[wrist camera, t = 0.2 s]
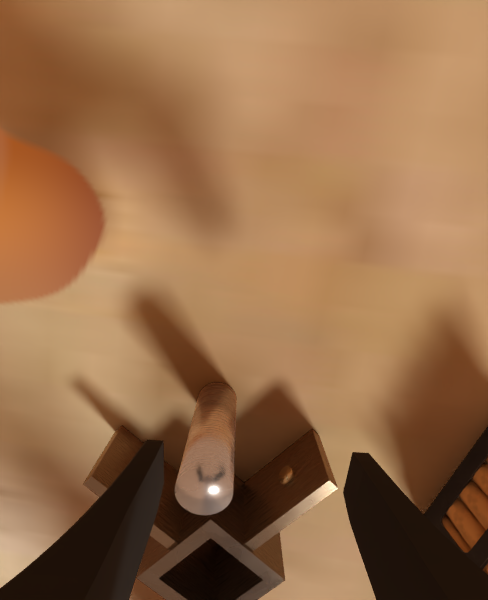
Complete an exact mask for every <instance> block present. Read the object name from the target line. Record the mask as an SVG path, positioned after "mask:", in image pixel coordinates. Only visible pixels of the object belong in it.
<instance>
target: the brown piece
mask: <svg viewBox="0 0 488 600" xmlns="http://www.w3.org/2000/svg"><path fill="white" fill-rule="evenodd" d="M142 445H143V442H141V441H140V440H139V439H138V438H137V437H135V436H134V435H133V434H132V433H131V432H129V431H128V430H127V429H126V428H125V427H123V426H121V427H120V428H119V429H118V430H117V431H116V432H115V433H114V434H113V436H112V438H111V439H110V441H109V443H108V444H107V446H106V447H105V449H104V451H103V452H102V454H101V456H100V457H99V459H98V460H97V462H96V464H95V465H94V467H93V469H92V470H91V472H90V473H89V475H88V477H87V478H86V480H85V482H84V483H83V484H84V485H85V486H86V487H87V488H89V489H90V490H91V491H93V492H94V493H95V494H97V495H98V496H99V497H101V495H102V494H103V493H104V492H105V491H106V490H107V489H108V488H109V486H110V485H111V484H112V483H113V482H114V480H115V479H116V478H117V477H118V476H119V475H120V473H121V472H122V471H123V470H124V468H125V467H126V466H127V465H128V463H129V462H130V461H131V460H132V458H133V457H134V456H135V454H136V453H137V452H138V450H139V449H140V448H141V446H142ZM178 473H179V472H177V471H176V470H175V469H174V468H173V467H171V466H170V465H169V464H168V463H167V462H165V461H164V484H163V489H162V493H161V498H160V502H159V506H158V511H157V514H156V517H155V521H154V524H153V527H152V530H151V533H150V536H149V539H148V542H147V545H146V548H145V551H144V555H143V558H142V561H141V565H140V568H139V571H138V575H137V579H138V580H140V581H141V582H142V583H144V584H145V585H147V586H148V587H149V588H151V589H152V590H153V591H155V592H156V593H158V594H159V595H160V596H162V597H163V598H164V599H166V600H258V599H259V598H261V597H262V596H263V595H265V594H266V593H268V592H269V591H271V590H272V589H273V588H275V587H276V586H278V585H279V584H280V583H282V582H283V581H285V575H284V567H283V558H282V550H281V541H280V533H279V532H280V531H281V530H282V529H284V528H285V527H286V526H288V525H289V524H290V523H292V522H293V521H295V520H296V519H297V518H299V517H300V516H301V515H303V514H304V513H305V512H307V511H308V510H309V509H311V508H312V507H313V506H315V505H316V504H317V503H319V502H320V501H321V500H323V499H324V498H326V497H327V496H328V495H330V494H331V493H332V492H334V491H335V490H336V489H338V487H337V484H336V482H335V479H334V476H333V473H332V470H331V468H330V465H329V462H328V459H327V456H326V454H325V451H324V448H323V445H322V442H321V440H320V437H319V435H318V434H317V433H316V432H315V431H314V430H313V429H311V430H310V431H309V432H308V433H306V434H305V435H304V436H303V437H301V438H300V439H299V440H298V441H296V442H295V443H294V444H293V445H291V446H290V447H289V448H288V449H286V450H285V451H284V452H282V453H281V454H280V455H279V456H277V457H276V458H275V459H274V460H272V461H271V462H270V463H269V464H267V465H266V466H265V467H264V468H262V469H261V470H260V471H259V472H257V473H256V474H255V475H254V476H252V477H251V478H250V479H249V480H247V481H246V482H245V483H244V482H243V481H242V480H240V479H239V478H238V477H237V476H236V475H235V474H234V482H233V497H232V500H231V502H230V503H229V505H228V506H227V507H226V508H225V509H223V510H222V511H220V512H218V513H216V514H212V515H198V514H194V513H191V512H189V511H187V510H186V509H184V508H183V507H182V506H181V505H180V504H179V502H178V501H177V499H176V496H175V485H176V481H177V477H178ZM212 539H213V540H214V541H213V540H212Z"/></svg>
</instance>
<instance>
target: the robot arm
mask: <svg viewBox="0 0 488 600" xmlns="http://www.w3.org/2000/svg"><path fill="white" fill-rule="evenodd" d="M163 484H164V445H163V441H158V440H146V441H145V442H144V443H143V445H142V446H141V448H140V449H139V450H138V452H137V453H136V454H135V456H134V457H133V458H132V460H131V461H130V462H129V463H128V465H127V466H126V467H125V468H124V470H123V471H122V472H121V473H120V475H119V476H118V477H117V478H116V479H115V480H114V482H113V483H112V484H111V485H110V486H109V488H108V489H107V490H106V491H105V492H104V493H103V494H102V495H101V497H100V498H99V499H98V500H97V501H96V502H95V503H94V504H93V505H92V506H91V507H90V508H89V510H88V511H87V512H86V513H85V514H84V515H83V516H82V517H81V518H80V519H79V520H78V521H77V522H76V523H75V524H74V525H73V526H72V527H71V528H70V529H69V530H68V531H67V532H66V533H65V534H63V535H62V536H61V537H60V538H59V539H58V540H57V541H56V542H55V543H54V544H53V545H52V546H50V547H49V548H48V549H47V550H46V551H45V552H44V553H43V554H41V555H40V556H39V557H38V558H37V559H36V560H35V561H33V562H32V563H31V564H30V565H29V566H28V567H26V568H25V569H24V570H23V571H22V572H20V573H19V574H18V575H17V576H15V577H14V578H13V579H12V580H10V581H9V582H8V583H6V584H5V585H4V586H3V587H1V588H0V600H129V598H130V594H131V591H132V588H133V584H134V581H135V578H136V575H137V572H138V569H139V566H140V563H141V560H142V557H143V554H144V551H145V548H146V545H147V542H148V539H149V536H150V533H151V530H152V527H153V524H154V521H155V517H156V514H157V511H158V506H159V502H160V498H161V493H162V489H163ZM343 494H344V498H345V503H346V508H347V512H348V516H349V520H350V524H351V527H352V530H353V533H354V536H355V539H356V542H357V545H358V548H359V551H360V554H361V557H362V559H363V562H364V565H365V568H366V571H367V574H368V577H369V580H370V583H371V585H372V588H373V591H374V594H375V597H376V600H488V574H487V573H485V572H484V571H483V570H482V569H481V568H480V567H478V566H477V565H476V564H475V563H474V562H473V561H472V560H471V559H469V558H468V557H467V556H466V555H465V554H464V553H463V552H462V551H461V550H459V549H458V548H457V547H456V546H455V545H454V544H453V543H452V542H451V541H450V540H449V539H448V538H447V537H446V536H445V535H443V534H442V533H441V532H440V531H439V530H438V529H437V528H436V527H435V526H434V525H433V524H432V523H431V522H430V521H429V520H428V519H427V518H426V516H425V515H424V514H423V513H422V512H421V511H420V510H419V509H418V508H417V507H416V506H415V505H414V504H413V503H412V502H411V501H410V500H409V498H408V497H407V496H406V495H405V494H404V493H403V492H402V491H401V490H400V488H399V487H398V486H397V485H396V484H395V483H394V482H393V481H392V479H391V478H390V477H389V476H388V475H387V474H386V473H385V471H384V470H383V469H382V468H381V467H380V466H379V465H378V463H377V462H376V461H375V460H374V459H373V458H372V457H371V455H370V454H369V453H357V452H353V453H352V457H351V462H350V466H349V470H348V474H347V479H346V483H345V487H344V491H343Z"/></svg>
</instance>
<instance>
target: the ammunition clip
mask: <svg viewBox="0 0 488 600" xmlns="http://www.w3.org/2000/svg"><path fill="white" fill-rule="evenodd" d="M424 515H425V516H426V518H427V519H428V520H429V521H430V522H431V523H432V524H433V525H434V526H435V527H436V528H437V529H438V530H439V531H440V532H441V533H442V534H443V535H445V536H446V537H447V538H448V539H449V540H450V541H451V542H452V543H453V544H454V545H455V546H456V547H457V548H458V549H459V550H461V551H462V552H463V553H464V554H465V555H466V556H467V557H468V558H469V559H471V560H472V561H473V562H474V563H475V564H476V565H477V566H478V567H480V568H481V569H482V570H483V571H484V572H485V573H487V574H488V427H487V428H486V430H485V431H484V433H483V434H482V435H481V437H480V438H479V439H478V441H477V442H476V444H475V445H474V446H473V448H472V449H471V450H470V452H469V453H468V455H467V456H466V457H465V459H464V460H463V462H462V463H461V464H460V466H459V467H458V468H457V470H456V471H455V473H454V474H453V475H452V477H451V478H450V479H449V481H448V482H447V484H446V485H445V486H444V488H443V489H442V490H441V492H440V493H439V495H438V496H437V497H436V499H435V500H434V502H433V503H432V504H431V506H430V507H429V508H428V510H427V511H426V513H425V514H424Z"/></svg>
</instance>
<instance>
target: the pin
mask: <svg viewBox="0 0 488 600" xmlns="http://www.w3.org/2000/svg"><path fill="white" fill-rule="evenodd" d="M236 403H237V398H236V394H235V392H234V391H233V389H232V388H231V387H230V386H228V385H226V384H224V383H219V382H215V383H210V384H208V385H206V386H205V387H203V388H202V390H201V391H200V393H199V396H198V400H197V404H196V407H195V411H194V415H193V419H192V423H191V427H190V431H189V434H188V438H187V442H186V446H185V450H184V454H183V458H182V461H181V465H180V469H179V473H178V477H177V481H176V485H175V496H176V499H177V501H178V502H179V504H180V505H181V506H182V507H183V508H184V509H186V510H187V511H189V512H191V513H194V514H198V515H212V514H216V513H218V512H220V511H222V510H223V509H225V508H226V507H227V506H228V505H229V503H230V502H231V500H232V497H233V482H234V456H235V430H236Z"/></svg>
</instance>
